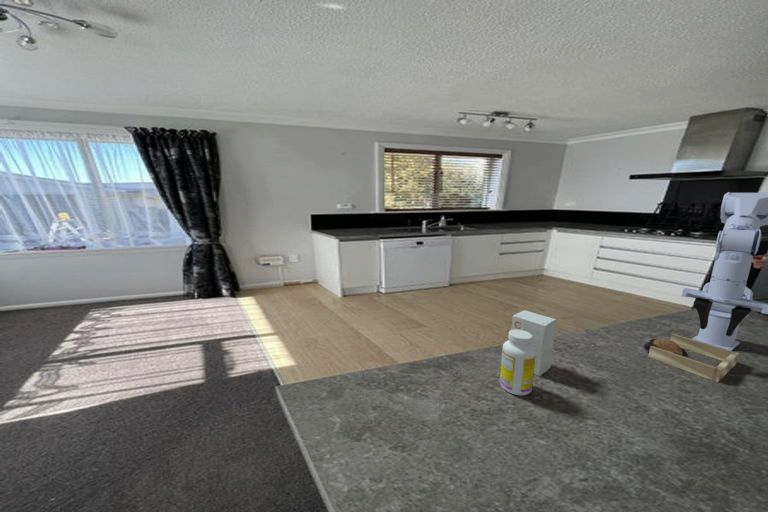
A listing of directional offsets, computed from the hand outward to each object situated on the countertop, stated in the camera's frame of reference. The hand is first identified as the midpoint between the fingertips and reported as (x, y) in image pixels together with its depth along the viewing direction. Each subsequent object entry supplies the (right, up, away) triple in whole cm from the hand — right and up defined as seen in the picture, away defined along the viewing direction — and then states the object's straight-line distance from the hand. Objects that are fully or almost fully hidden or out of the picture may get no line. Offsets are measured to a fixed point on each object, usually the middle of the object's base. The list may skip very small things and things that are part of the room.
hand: (715, 331), depth 75 cm
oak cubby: (-2, -9, +4) cm, 10 cm away
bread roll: (-4, -9, +9) cm, 13 cm away
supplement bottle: (-54, -11, -8) cm, 55 cm away
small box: (-46, -9, +1) cm, 47 cm away
